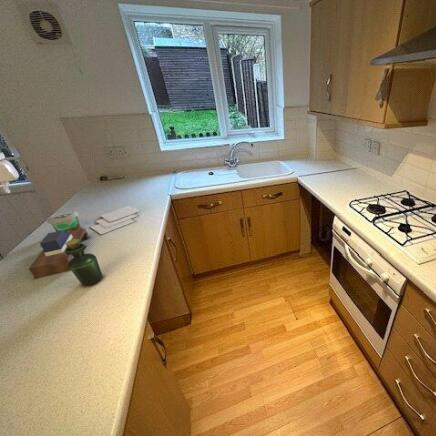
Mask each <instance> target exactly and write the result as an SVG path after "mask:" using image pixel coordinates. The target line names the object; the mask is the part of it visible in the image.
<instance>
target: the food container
mask: <svg viewBox="0 0 436 436" xmlns="http://www.w3.org/2000/svg"><path fill="white" fill-rule="evenodd" d="M46 223H48V224H50V225H51V226H52V228H53V229H54V231H55V232H57V231H62V230H63V231H67V230H68V231H75V230H80V229H82V225H81V223H80V219H79V212H77V211H76V210H75V211H74V212H73V213H68V214H61V215H58V216H55V217H51V218H46Z"/></svg>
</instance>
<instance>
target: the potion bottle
mask: <svg viewBox="0 0 436 436" xmlns="http://www.w3.org/2000/svg"><path fill="white" fill-rule="evenodd" d="M65 245H66V246H67V247H68V248H67V249H66V250H65V251H66V254H67V255H72V257H73V258H71V259H70V261H69V265H68V267H69V268H70V269H71V270H70V271H71V272H72V274H73V275H74V276H75V277H76V279H77V280H78V281H79V283H80V284H81V285H82V286H83V287H91V286H95V285H97V284H98V283H100V282H102V279H103V278H104V277H103V276H104V275H103V273H102V270H101V267H100V264H99V261H98V258H97V256H96V255H95V254H93V253H85V250H86V249H87V245H85V244H84V243H82V242H80V243H79V240H78V239H73V240H70V241H68V242H66V243H65Z"/></svg>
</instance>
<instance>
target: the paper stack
mask: <svg viewBox="0 0 436 436" xmlns="http://www.w3.org/2000/svg"><path fill="white" fill-rule="evenodd" d="M139 212H141V209H138V208H136V207H134V206H132V205H127V206H125V207H122V208H119V209H116V210H113V211H109V212H107V213H103V214H100V217H101V218H100V219H98V220H96V221H95V222H96V223H98V224H95V225H92V226H90V228H91V229H93V230H94V231H95V232H96V233H98V234H100V235H103V234H106V233H109V232H112V231H114V230H117V229H119V228H122V227H124V226H126V225H129V224H132V223H134V222H135V220H133V219H134V218H136V217H138V216H139V215H138V214H136V213H139Z"/></svg>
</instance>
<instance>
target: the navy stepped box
mask: <svg viewBox="0 0 436 436" xmlns="http://www.w3.org/2000/svg"><path fill="white" fill-rule="evenodd" d="M72 237H73V236H72V234H70V233H69V231H68V230H67V231H63V230H62V231H57V232H56V231H52V232H48V233H47V234H46V235H45V236H44V238H42V240H41V241H40V242H39V245H40V246H41V248H42V250H44V251H45V255H46V256H50V255H54V254H59V253H63V252H64V250H65V248H66V247H67V246H66V245H65V243H66V242H68V241H70V240H71V239H72Z"/></svg>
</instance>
